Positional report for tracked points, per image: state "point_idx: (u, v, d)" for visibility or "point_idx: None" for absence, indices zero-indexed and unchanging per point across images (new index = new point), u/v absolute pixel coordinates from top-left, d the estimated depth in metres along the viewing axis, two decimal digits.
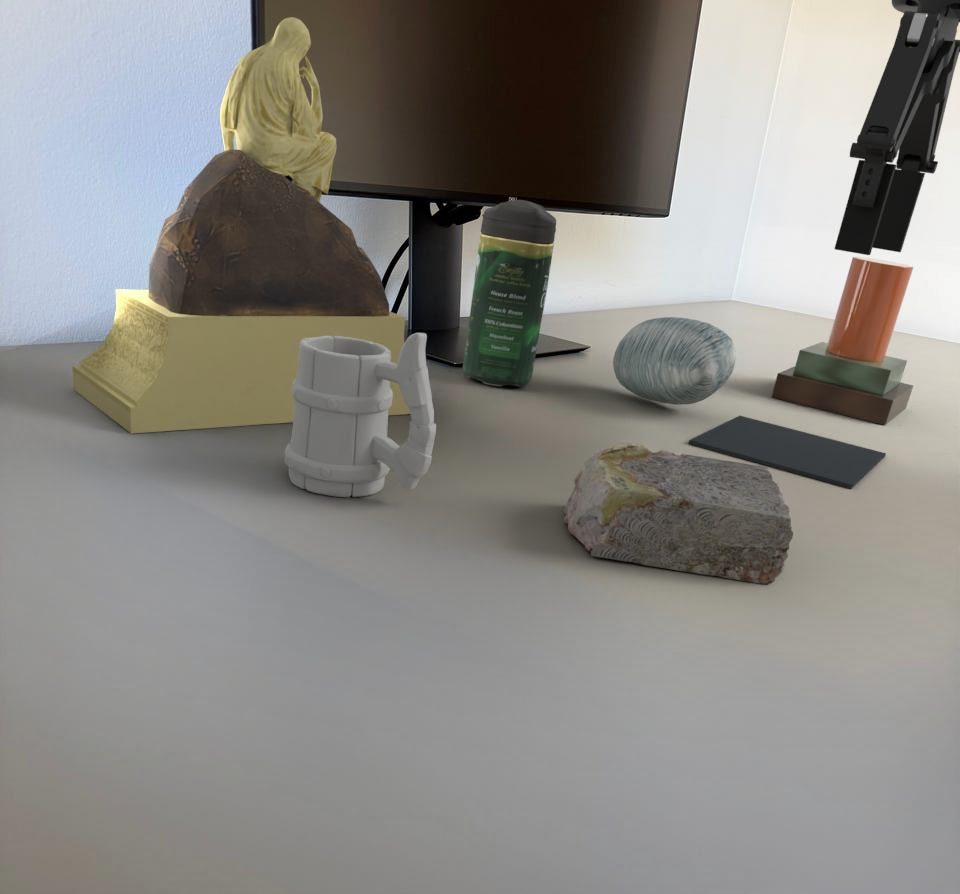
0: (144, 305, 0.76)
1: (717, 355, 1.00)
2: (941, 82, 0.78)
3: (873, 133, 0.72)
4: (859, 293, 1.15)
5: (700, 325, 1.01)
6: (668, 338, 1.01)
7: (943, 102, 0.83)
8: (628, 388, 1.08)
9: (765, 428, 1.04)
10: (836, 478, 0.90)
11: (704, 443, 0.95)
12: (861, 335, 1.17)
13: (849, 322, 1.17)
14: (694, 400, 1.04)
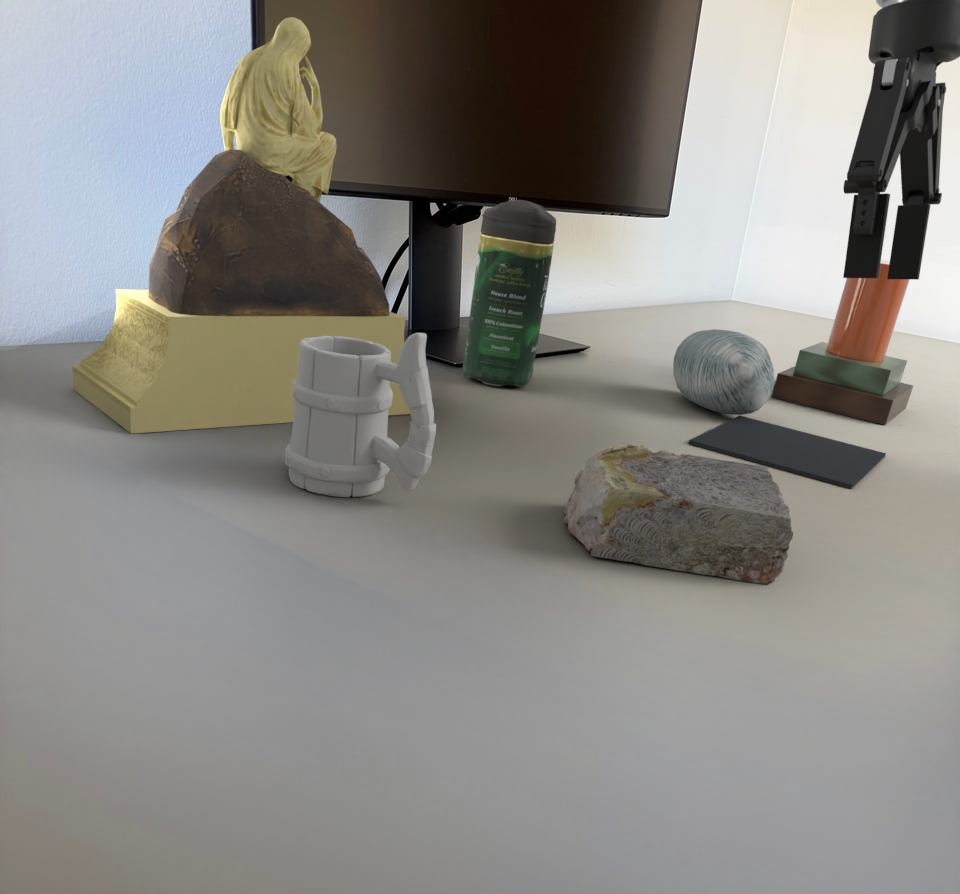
0: (144, 305, 0.76)
1: (758, 374, 1.03)
2: (928, 120, 0.84)
3: (861, 167, 0.78)
4: (859, 293, 1.15)
5: (770, 360, 1.05)
6: (749, 337, 1.05)
7: (937, 139, 0.88)
8: (677, 353, 1.11)
9: (765, 428, 1.04)
10: (836, 478, 0.90)
11: (704, 443, 0.95)
12: (861, 335, 1.17)
13: (849, 322, 1.17)
14: (706, 383, 1.05)
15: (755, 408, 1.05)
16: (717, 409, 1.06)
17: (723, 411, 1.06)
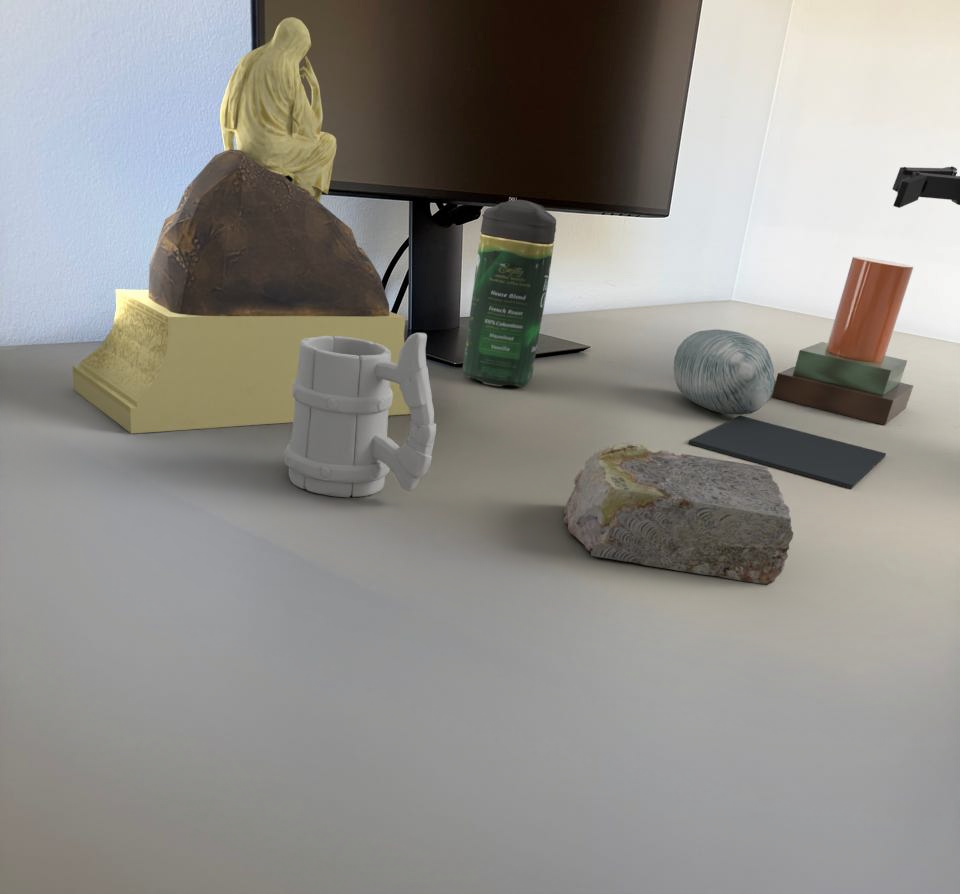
0: (144, 305, 0.76)
1: (759, 374, 1.03)
2: None
3: None
4: (859, 293, 1.15)
5: (771, 361, 1.05)
6: (749, 337, 1.05)
7: None
8: (678, 352, 1.11)
9: (765, 428, 1.04)
10: (836, 478, 0.90)
11: (704, 443, 0.95)
12: (861, 335, 1.17)
13: (849, 322, 1.17)
14: (707, 383, 1.05)
15: (755, 408, 1.05)
16: (717, 409, 1.06)
17: (723, 411, 1.06)
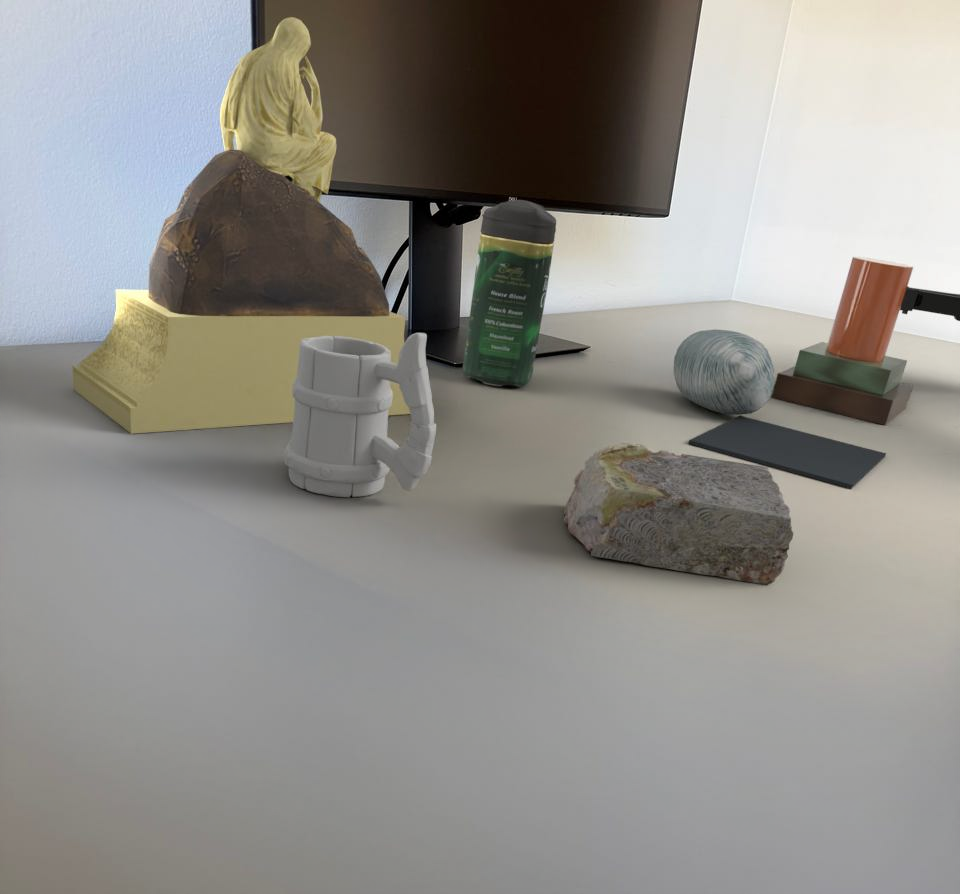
0: (144, 305, 0.76)
1: (759, 374, 1.03)
2: None
3: None
4: (859, 293, 1.15)
5: (771, 361, 1.05)
6: (749, 337, 1.05)
7: None
8: (678, 352, 1.11)
9: (765, 428, 1.04)
10: (836, 478, 0.90)
11: (704, 443, 0.95)
12: (861, 335, 1.17)
13: (849, 322, 1.17)
14: (707, 383, 1.05)
15: (755, 408, 1.05)
16: (717, 409, 1.06)
17: (723, 411, 1.06)
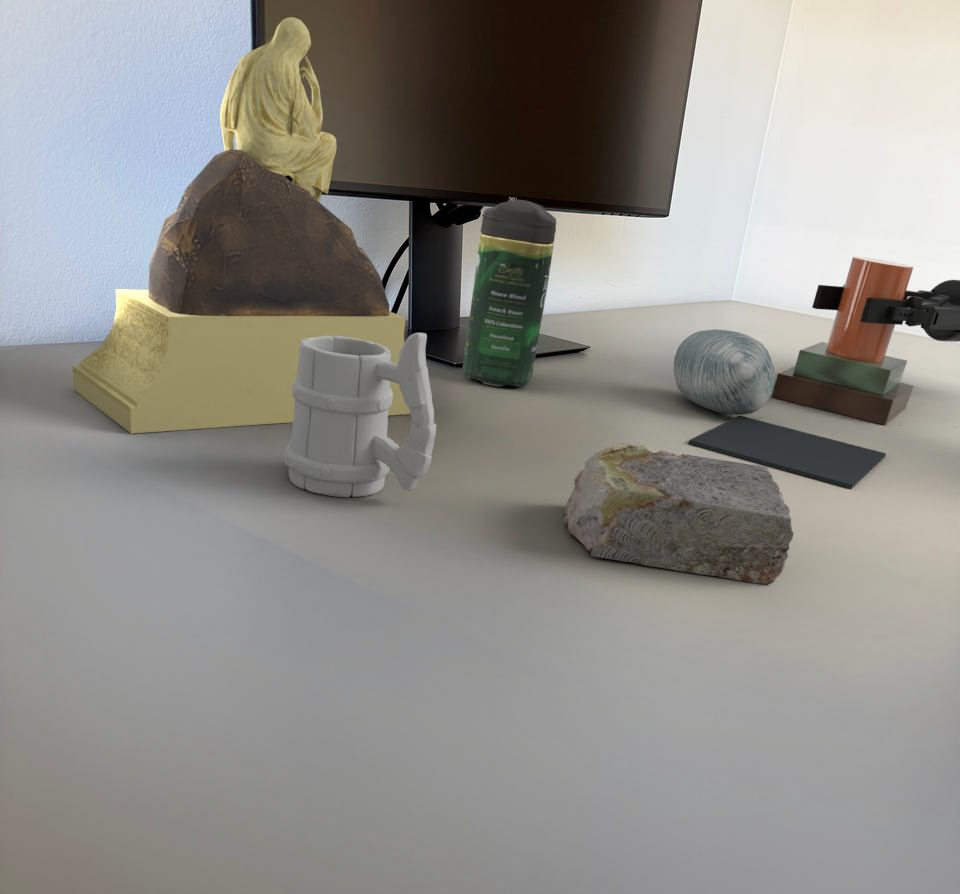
0: (144, 305, 0.76)
1: (759, 374, 1.03)
2: None
3: None
4: (859, 293, 1.15)
5: (771, 361, 1.05)
6: (749, 337, 1.05)
7: (950, 307, 1.17)
8: (678, 352, 1.11)
9: (765, 428, 1.04)
10: (836, 478, 0.90)
11: (704, 443, 0.95)
12: (861, 335, 1.17)
13: (849, 322, 1.17)
14: (707, 383, 1.05)
15: (755, 408, 1.05)
16: (717, 409, 1.06)
17: (723, 411, 1.06)
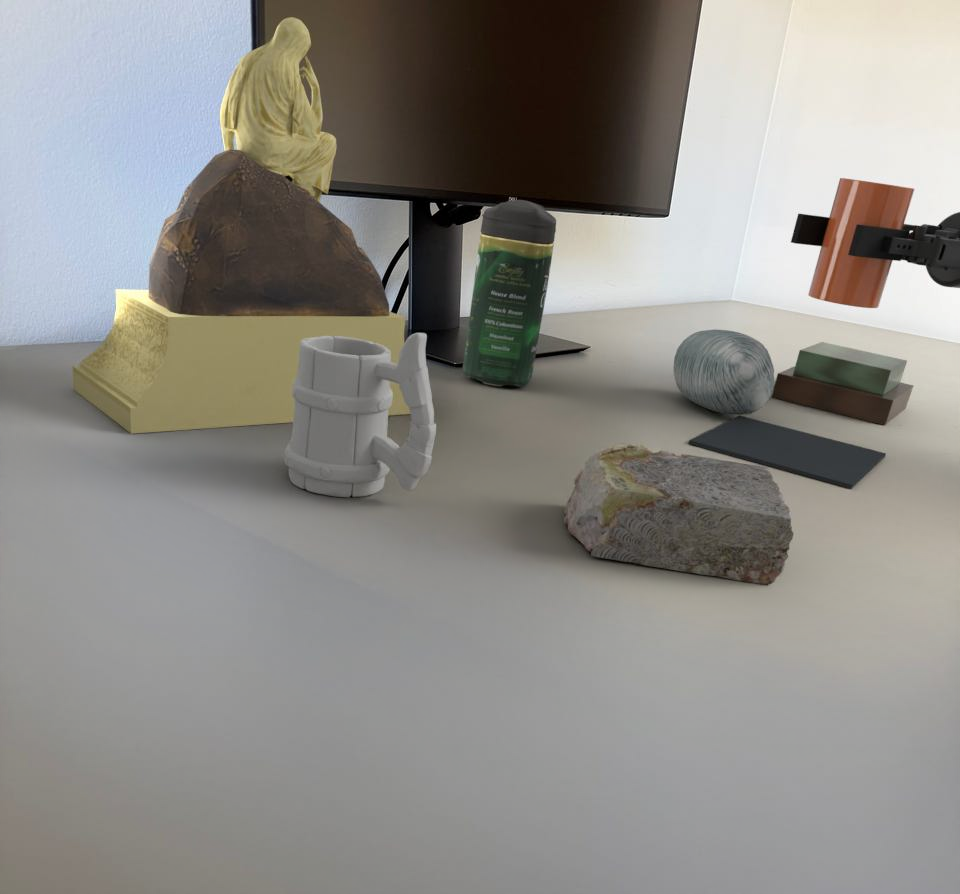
0: (144, 305, 0.76)
1: (759, 374, 1.03)
2: None
3: None
4: (847, 222, 0.94)
5: (771, 361, 1.05)
6: (749, 337, 1.05)
7: None
8: (678, 352, 1.11)
9: (765, 428, 1.04)
10: (836, 478, 0.90)
11: (704, 443, 0.95)
12: (850, 274, 0.95)
13: (835, 258, 0.95)
14: (707, 383, 1.05)
15: (755, 408, 1.05)
16: (717, 409, 1.06)
17: (723, 411, 1.06)
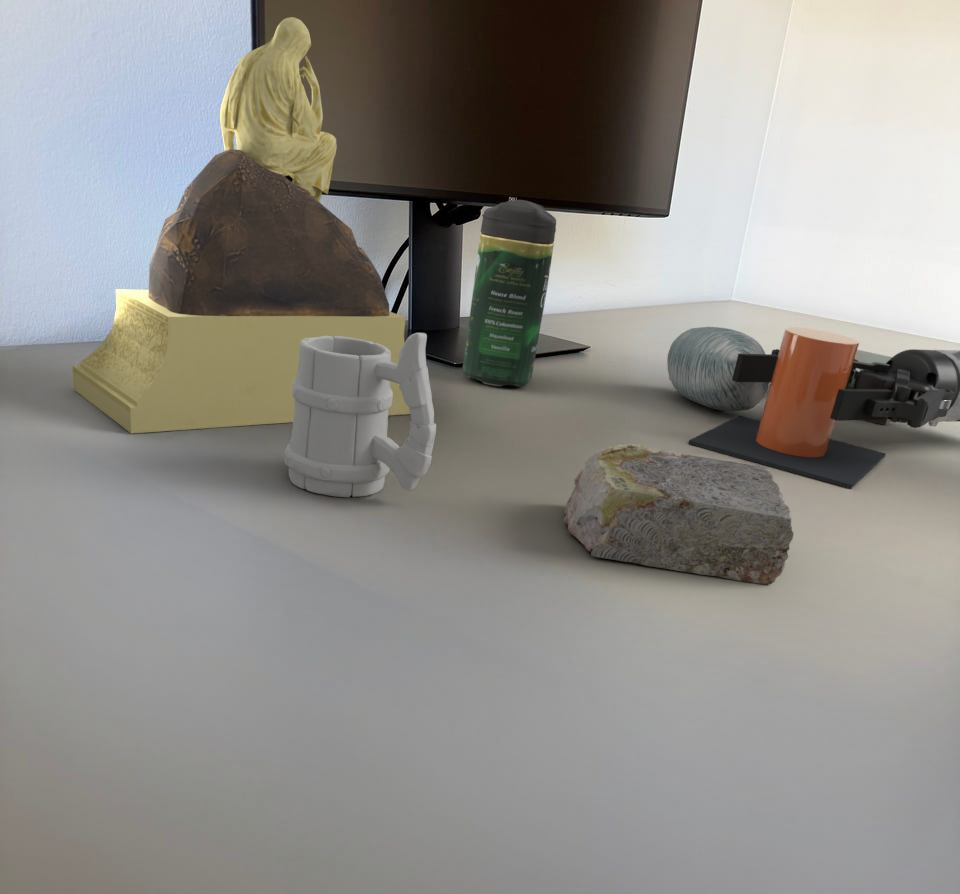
0: (144, 305, 0.76)
1: None
2: (895, 378, 0.98)
3: None
4: (792, 375, 0.93)
5: None
6: (744, 334, 1.07)
7: (927, 393, 0.94)
8: (672, 350, 1.12)
9: None
10: (836, 478, 0.90)
11: (704, 443, 0.95)
12: (795, 426, 0.94)
13: (781, 410, 0.94)
14: (705, 380, 1.06)
15: (752, 404, 1.07)
16: (715, 406, 1.08)
17: (721, 408, 1.08)
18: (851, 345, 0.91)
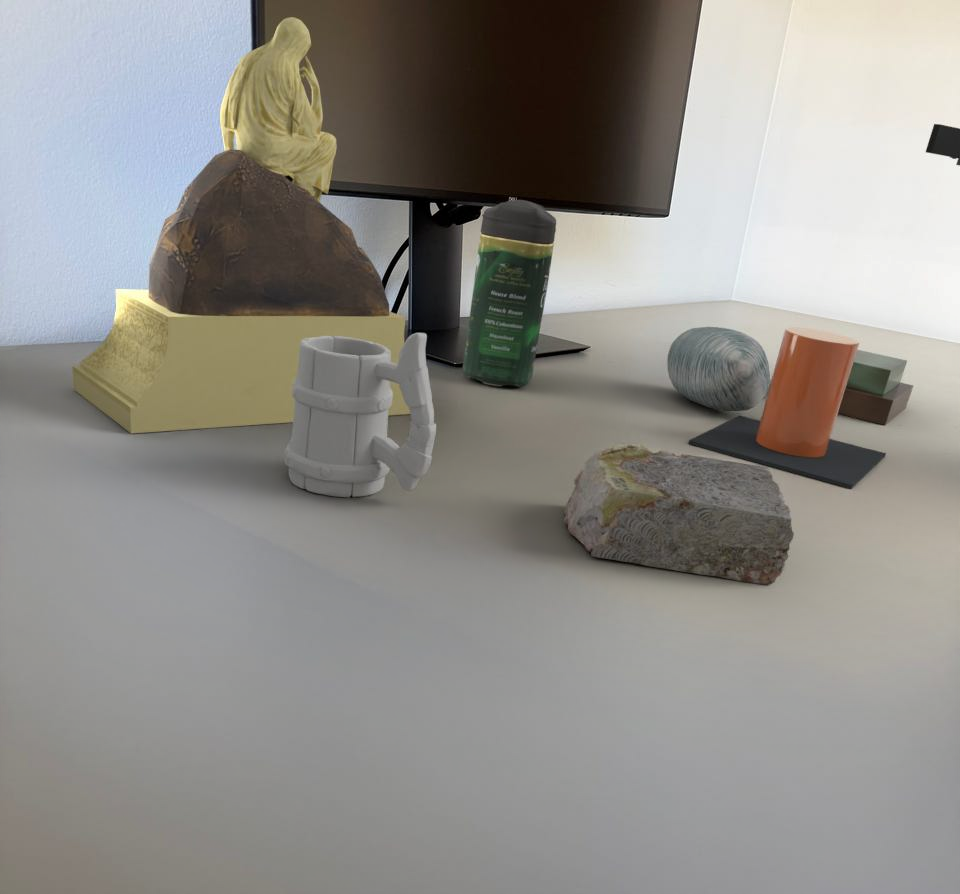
0: (144, 305, 0.76)
1: (756, 371, 1.04)
2: None
3: None
4: (792, 375, 0.93)
5: (766, 357, 1.07)
6: (744, 334, 1.07)
7: None
8: (672, 350, 1.12)
9: None
10: (836, 478, 0.90)
11: (704, 443, 0.95)
12: (795, 426, 0.94)
13: (781, 410, 0.94)
14: (705, 380, 1.06)
15: (752, 405, 1.07)
16: (715, 406, 1.08)
17: (721, 408, 1.08)
18: (851, 345, 0.91)
